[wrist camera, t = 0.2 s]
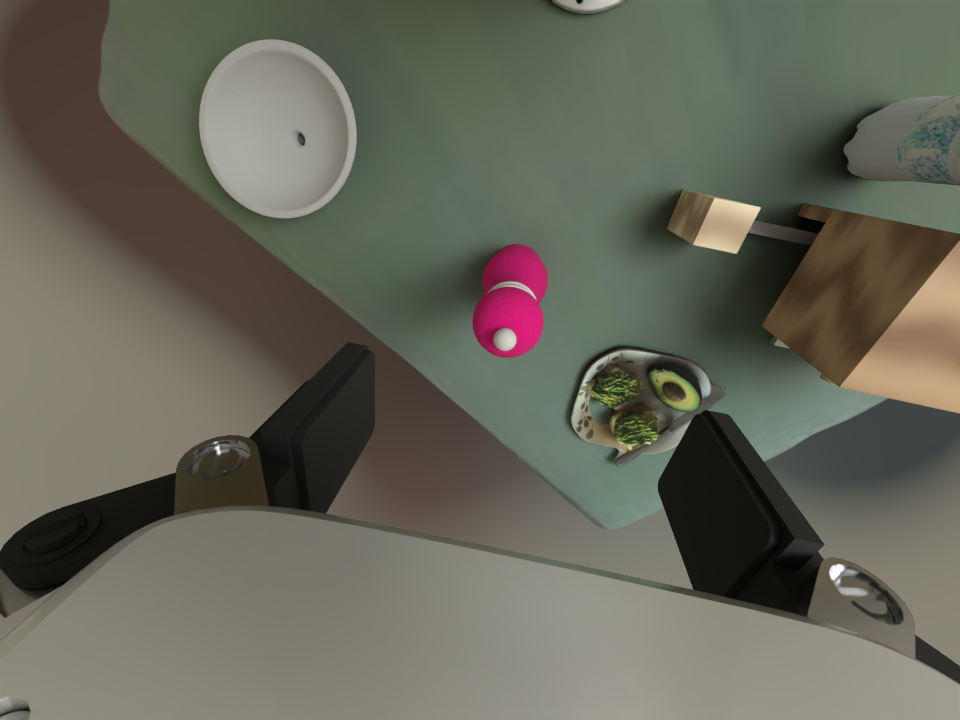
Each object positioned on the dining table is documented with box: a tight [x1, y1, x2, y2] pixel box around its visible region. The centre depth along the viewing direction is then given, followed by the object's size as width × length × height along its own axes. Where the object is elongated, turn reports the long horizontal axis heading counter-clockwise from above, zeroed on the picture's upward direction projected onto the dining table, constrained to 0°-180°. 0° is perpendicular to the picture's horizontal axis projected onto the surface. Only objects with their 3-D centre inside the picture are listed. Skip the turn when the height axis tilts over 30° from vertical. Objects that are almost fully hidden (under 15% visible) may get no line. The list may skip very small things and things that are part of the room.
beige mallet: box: [667, 190, 819, 254], centre depth 36 cm, size 4×23×8 cm, turn 80°
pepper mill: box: [473, 245, 548, 358], centre depth 37 cm, size 7×7×20 cm
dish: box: [199, 39, 357, 218], centre depth 39 cm, size 18×14×5 cm
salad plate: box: [571, 346, 725, 467], centre depth 51 cm, size 19×18×5 cm
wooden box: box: [762, 203, 960, 413], centre depth 34 cm, size 13×14×16 cm
